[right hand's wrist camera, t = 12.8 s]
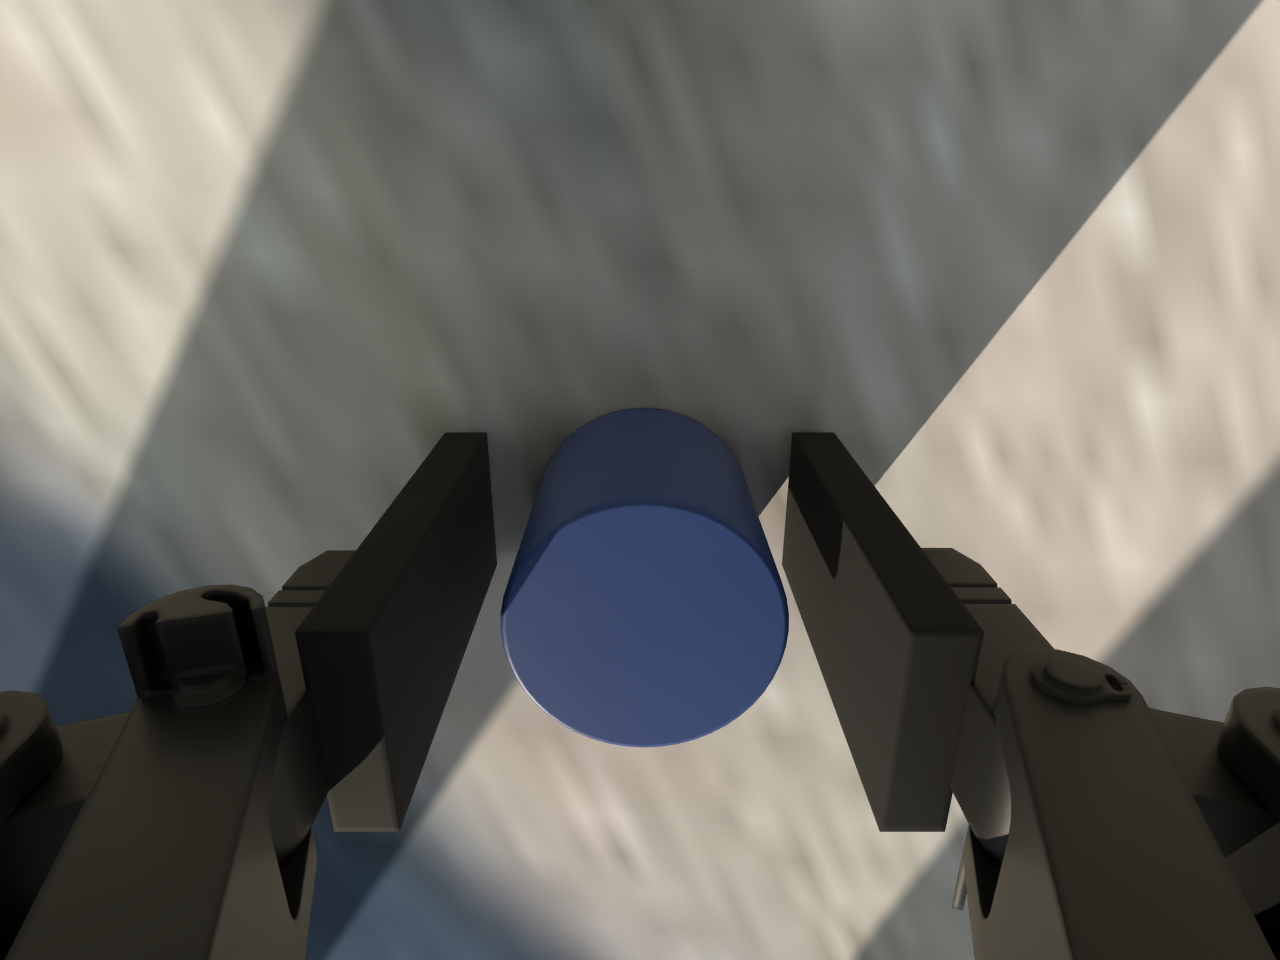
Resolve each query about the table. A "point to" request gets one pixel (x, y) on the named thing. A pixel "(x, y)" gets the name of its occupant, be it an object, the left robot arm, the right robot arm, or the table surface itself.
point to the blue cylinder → (644, 585)
